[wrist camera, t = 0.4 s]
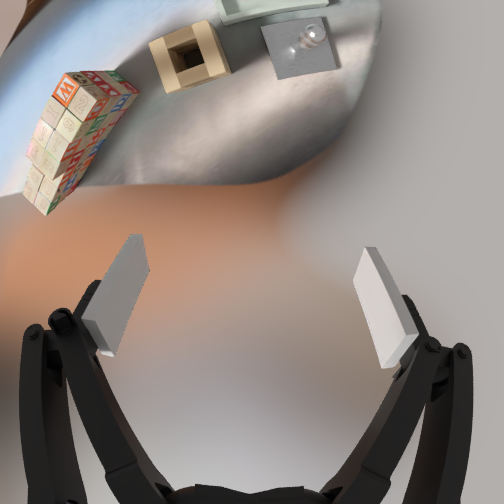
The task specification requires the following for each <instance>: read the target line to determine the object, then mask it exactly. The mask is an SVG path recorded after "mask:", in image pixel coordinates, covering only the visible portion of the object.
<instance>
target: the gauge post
mask: <svg viewBox="0 0 504 504" xmlns="http://www.w3.org/2000/svg"><path fill="white" fill-rule="evenodd" d="M260 28H261V31H262V34H263V37H264V40H265V43H266V46H267V49H268V52H269V55H270V58H271V61H272V64H273V67H274V70H275V73H276V76H277V80H280V79H285V78H290V77H295V76H300V75H305V74H311V73H317V72H323V71H330V70H337V67H336V64H335V60H334V57H333V53H332V50H331V47H330V43H329V40H328V37H327V31H326V30H325V28H324V25H323V22H322V19H321V17H315V18H307V19H300V20H293V21H287V22H281V23H276V24H271V25H266V26H262V27H260Z"/></svg>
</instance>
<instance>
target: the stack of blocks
mask: <svg viewBox="0 0 504 504" xmlns="http://www.w3.org/2000/svg"><path fill="white" fill-rule="evenodd" d="M139 94H140V92H139V91H138V90H137V89H135V88H134V87H133V86H132V85H131V84H130V83H128V82H127V81H125V80H124V79H123V78H122V77H121V76H120V75H118V74H117V73H116V72H115V71H80V72H69V73H64V75H63V76H62V78H61V80H60V82H59V83H58V85H57V87H56V89H55V91H54V92H53V95H52V96H51V97H50V98H49V100H48V102H47V104H46V106H45V108H44V110H43V113H42V115H41V117H40V119H39V121H38V123H37V126H36V128H35V131H34V133H33V137H32V139H31V141H30V144H29V146H28V149H27V152H26V155H25V156H26V157H27V158H28V159H29V160H30V161H31V162H32V163H33V164H32V165H31V168H30V171H29V173H28V176H27V181H26V183H25V186H24V190H23V195H24V196H25V197H26V198H27V199H28V200H29V201H30V202H31V203H32V204H34V205H35V206H36V207H37V208H38V209H39V210H40V211H41V212H42V213H43V214H44V215H45V216H46V215H47V214H49V213H50V212H51V211H52V210H53V209H54V208H55V207H56V206H57V205H58V204H59V203H60V202H61V201H63V200H64V199H65V198H66V197H67V196H68V195H69V194H71V193H72V192H73V191H74V190H75V188H76V186H77V184H78V182H79V180H80V179H81V178H82V176H83V174H84V173H85V171H86V169H87V167H88V166H89V164H90V163H91V161H92V159H93V158H94V156H95V155H96V152H97V151H98V149H99V147H100V146H101V144H102V143H103V141H104V140H105V138H106V137H107V135H108V134H109V132H110V131H111V130H112V128H113V127H114V125H115V124H116V123H117V122H118V120H119V119H120V118H121V116H122V115H123V114H124V113H125V111H126V110H127V109H128V107H129V106H130V105H131V104H132V103H133V101H134V100H135V99H136V98H137V96H138V95H139Z"/></svg>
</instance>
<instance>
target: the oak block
mask: <svg viewBox="0 0 504 504" xmlns="http://www.w3.org/2000/svg"><path fill="white" fill-rule="evenodd" d="M148 44H149V47H150V50H151V52H152V55H153V58H154V61H155V64H156V66H157V69H158V72H159V75H160V77H161V80H162V83H163V86H164V88H165V91H166V94H167V93H174V92H180V91H184V90H187V89H189V88H192V87H195V86H197V85H200V84H203V83H206V82H209V81H212V80H215V79H218V78H221V77H224V76H227V75H230V74H231V71H230V68H229V65H228V62H227V59H226V56H225V53H224V51H223V48H222V45H221V42H220V39H219V37H218V34H217V31H216V29H215V28H214V27H213V26H212V25H211V23H210V22H209V21H208V20H204V21H201V22H198V23H195V24H192V25H190V26H187V27H184V28H182V29H179V30H177V31H174V32H172V33H170V34H167V35H165V36H163V37H161V38H158V39H156V40H154V41H152V42H150V43H148ZM198 48H200V51H201V53H202V56H203V59H204V62H205V63H203V64H201V65H198V66H195V67H192V68H190V69H188V67H187V64H186V61H185V58H184V56H183V54H185V53H188V52H190V51H193V50H196V49H198Z"/></svg>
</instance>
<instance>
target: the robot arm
mask: <svg viewBox="0 0 504 504" xmlns="http://www.w3.org/2000/svg"><path fill="white" fill-rule="evenodd" d="M149 271H150V270H149V266H148V261H147V256H146V251H145V246H144V241H143V236H142V234H131V235H130V236H129V237H128V239H127V241H126V242H125V244H124V245H123V247H122V248H121V250H120V251H119V253H118V255H117V256H116V258H115V259H114V261H113V263H112V264H111V266H110V268H109V269H108V271H107V273H106V274H105V276H104V278H103V279H102V280H95V281H94V282H92V283H91V284H90V285H89V286H88V288H87V290H86V291H85V294H84V295H83V296H82V298H81V300H80V302H79V304H78V305H77V307H76V309H75V311H74V312H73V314H72V313H71V312H70V310H69V309H67V308H59V309H57V310H55V311H54V312H53V313H52V314H51V315H50V317H49V319H48V324H49V326H50V327H51V329H52V330H44V329H43V327H42V326H41V325H40V324H33V325H31V326H29V327H28V328H27V329H26V331H25V333H24V336H23V344H22V354H21V364H20V381H19V418H20V434H21V445H22V453H23V460H24V467H25V473H26V478H27V483H28V504H88V503H87V497H86V492H85V488H84V485H83V481H82V477H81V474H80V469H79V465H78V461H77V456H76V452H75V447H74V441H73V435H72V429H71V423H70V416H69V407H68V397H67V385H66V378H67V381H68V384H69V387H70V389H71V393H72V396H73V399H74V401H75V404H76V407H77V410H78V412H79V415H80V417H81V420H82V422H83V425H84V427H85V429H86V432H87V434H88V436H89V439H90V441H91V443H92V445H93V447H94V449H95V451H96V453H97V455H98V457H99V459H100V461H101V463H102V465H103V467H104V469H105V472H106V473H105V479H106V482H107V483H108V485H109V487H110V489H111V491H112V492H113V494H114V496H115V497H116V499H117V500H118V502H119V503H120V504H380V503H381V501H382V500H383V498H384V497H385V495H386V493H387V492H388V490H389V488H390V486H391V481H390V477H391V475H392V473H393V471H394V469H395V468H396V466H397V464H398V462H399V460H400V458H401V456H402V455H403V452H404V451H405V449H406V447H407V444H408V443H409V441H410V438H411V436H412V434H413V432H414V430H415V427H416V425H417V423H418V420H419V418H420V416H421V413H422V411H423V408H424V406H425V412H424V419H423V424H422V430H421V435H420V441H419V445H418V450H417V454H416V458H415V462H414V466H413V470H412V473H411V477H410V480H409V483H408V487H407V490H406V493H405V496H404V500H403V503H402V504H460V498H461V493H462V489H463V485H464V480H465V476H466V470H467V464H468V458H469V451H470V443H471V433H472V420H473V419H472V418H473V365H472V354H471V351H470V349H469V347H468V346H467V345H465V344H463V343H457V344H456V345H455V346H454V347H453V348H448V347H443V346H441V344H440V343H439V341H438V340H437V339H435V338H434V337H431V336H429V334H428V332H427V330H426V328H425V325H424V323H423V321H422V319H421V317H420V316H419V313H418V311H417V310H416V307H415V305H414V303H413V301H412V300H411V299H410V298H409V297H408V296H407V295H401V294H400V292H399V290H398V288H397V286H396V284H395V282H394V280H393V278H392V276H391V274H390V272H389V270H388V269H387V267H386V265H385V263H384V261H383V259H382V257H381V256H380V254H379V252H378V250H377V248H376V247H365V248H364V251H363V254H362V257H361V260H360V263H359V266H358V268H357V271H356V274H355V277H354V280H353V283H354V286H355V289H356V291H357V294H358V297H359V299H360V302H361V305H362V308H363V311H364V314H365V317H366V320H367V323H368V326H369V328H370V332H371V335H372V338H373V341H374V344H375V347H376V351H377V354H378V358H379V361H380V364H381V368H390V367H394V366H395V365H396V364H397V363H398V362H399V361H400V364H401V367H400V368H399V370H398V371H397V372H396V373H395V374H394V376H393V378H394V377H395V378H394V380H393V383H392V384H391V386H390V388H389V391H388V393H387V394H386V396H385V398H384V400H383V402H382V404H381V406H380V407H379V409H378V411H377V413H376V415H375V416H374V418H373V420H372V422H371V423H370V425H369V427H368V428H367V430H366V432H365V433H364V435H363V436H362V438H361V439H360V441H359V443H358V444H357V446H356V447H355V449H354V450H353V452H352V453H351V455H350V456H349V457H348V459H347V460H346V462H345V463H344V465H343V466H342V467H341V469H340V470H339V471H338V473H337V474H336V475H335V476H334V477H333V478H332V479H331V480H329V481H328V482H327V483H326V485H325V486H324V487H323V488H322V489H321V491H320V492H319V493H318V492H315V491H312V490H308V489H304V486H300V487H284V488H275V489H271V490H267V491H263V492H258V493H253V494H247V493H243V492H239V491H236V490H231V489H228V488H224V487H221V486H209V485H201V484H195V486H190V487H186V488H182V489H179V490H177V491H174V489H173V488H172V487H171V486H170V484H169V483H168V482H167V480H166V479H165V478H164V477H163V475H162V474H161V473H160V472H159V471H158V470H157V469H156V467H155V466H154V465H153V463H152V461H151V460H150V459H149V457H148V455H147V454H146V452H145V451H144V449H143V448H142V446H141V444H140V443H139V441H138V439H137V437H136V436H135V434H134V432H133V431H132V429H131V427H130V425H129V423H128V421H127V420H126V418H125V416H124V414H123V412H122V410H121V408H120V406H119V404H118V402H117V400H116V398H115V396H114V394H113V392H112V390H111V388H110V386H109V383H108V381H107V379H106V376H105V374H104V372H103V369H102V367H101V365H100V362H99V360H98V357H97V356H96V354H95V353H96V351H97V348H98V349H99V350H100V352H101V354H104V355H108V356H113V357H115V355H116V352H117V349H118V347H119V344H120V341H121V339H122V336H123V333H124V331H125V328H126V326H127V323H128V320H129V318H130V316H131V313H132V311H133V308H134V306H135V303H136V301H137V299H138V296H139V294H140V292H141V289H142V287H143V285H144V282H145V280H146V278H147V276H148V273H149ZM425 403H426V405H425Z"/></svg>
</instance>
